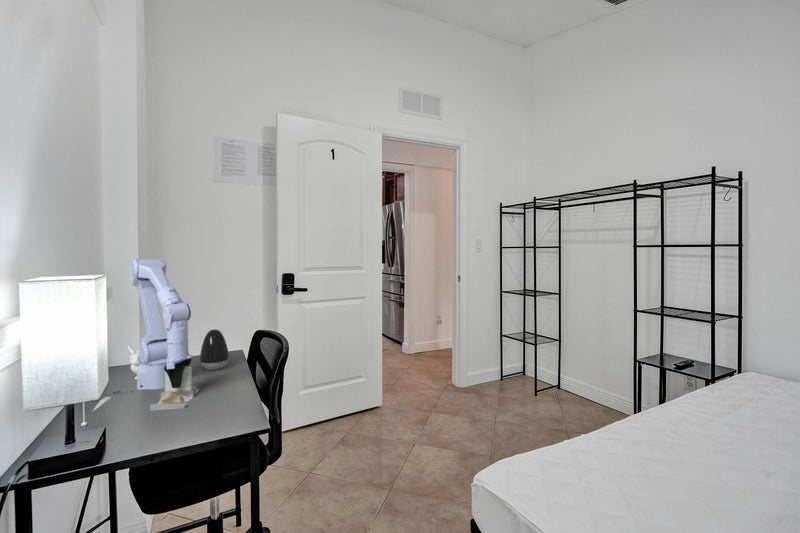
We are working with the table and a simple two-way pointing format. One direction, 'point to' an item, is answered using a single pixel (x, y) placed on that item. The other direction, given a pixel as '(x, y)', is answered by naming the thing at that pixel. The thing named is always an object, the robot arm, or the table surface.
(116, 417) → the table surface
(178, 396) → the offcut upper
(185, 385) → the pale green rectangular block
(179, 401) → the offcut lower
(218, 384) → the table surface
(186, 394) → the rack
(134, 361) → the rabbit
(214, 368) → the black egg shaped speaker
